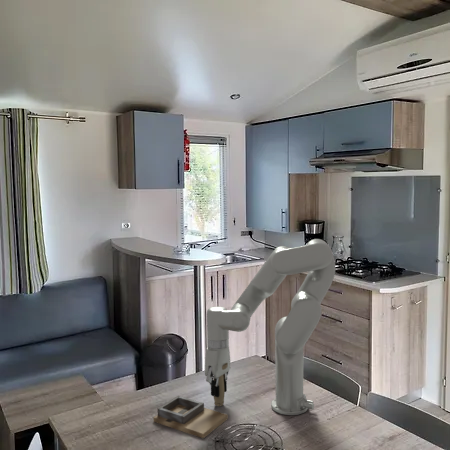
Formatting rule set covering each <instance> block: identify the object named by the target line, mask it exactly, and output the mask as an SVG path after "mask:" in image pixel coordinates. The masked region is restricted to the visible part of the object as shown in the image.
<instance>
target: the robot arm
mask: <svg viewBox="0 0 450 450" xmlns="http://www.w3.org/2000/svg"><path fill="white" fill-rule="evenodd" d="M303 273H307V275H306V276H305V278H304V280H303V282H302V283H301V285H300V286H299V288H298V290H297V291H296V294H295V295H294V296H293V297H292V300H291V302H290V303H291V305H290V307H291V309H290V310H289V312H288V314H287V315H286V316H283V317H281V318H280V319H279V320H278V321H277V322H276V324H275V326H274V340H275V341H274V345H275V348H274V351H275V352H274V353H275V362H274V363H275V366H274V367H275V372H274V373H275V398H274V399H272V401H271V403H270V406H271V409H272V410H273V411H274V412H275V413H278V414H281V415H284V416H285V415H286V416H297V415H301V414H304V413H305V412H307V411H308V410H312V411H313V410H314V409H315V404H314V401H313V400H310V399H308V398H307V394H305V393H304V348H305V345H306V343H307V342H308V341H309V339H310V338H311V336H312V334H313V333H314V330H315V329H316V327H317V326H318V324H319V322H320V319H321V318H322V317H321V316H322V306H321V303H322V302H323V300H324V298H325V297H326V295H327V293H328V291H329V289H330V288H331V285H332V284H333V282H334V278H335V273H336V261H335V257H334V254H333V250H332V248H331V247H330V246H329V244H328V243H327V242H326V241H325V240H323V239H320V238H314V239H311V240H309V241H308V242H307V243H306V245H302V246H295V247H289V246H285V245H280V246H278V247H276V248H274V250H273V251H272V252H271V254H270V255H269V257H267V259H266V260H265V262H264V263H263V265H262V266H261V267H260V269H259V270H258V272H257V273H256V274H255V275H254V277H253V278H252V280H251V281H250V282H249V284H248V285H247V287H246V288H245V289H244V291H243V292H241V295H239V296H240V297H239V298H238V299H237V300H236V301H235V302H234V304H233V306H232V307H231V308H230V310H228V309H227V308H226V307H224V306H212V307H209V308H208V309H207V310H206V342H207V343H206V350H205V357H204V359H205V360H204V375H205V377H206V379H205V381H206V382H207V383H209V385H210V395H211V396H212V397H214V396H215V397H219V386H218V380H219V377H220V376H221V375H223V376H224V389H225V390H224V391H225V393H227V392H228V391H227V389H228V388H227V381H228V375H229V371H230V370H231V352H230V342H229V341H230V340H229V338H230V337H229V334H230V333H229V332H230V331H232V332H245V331H246V330H248V329H249V326H250V323H251V317H252V316H253V315H254V313H255V311H256V310H257V309H258V308H259V306H260V305H261V304H262V303H263V301H264V300H266V299H267V298H269V297H271V296H273V294H274V293H275V292H276V291H277V290H278V288H279V286H280V285H281V284H282V282H284V280H285V279H286V277H287V276H290V275H296V274H297V275H298V274H303ZM226 363H228V367H227V368H226V369H224V370H222V366H223V365H225V364H226ZM214 379H215V381H214Z"/></svg>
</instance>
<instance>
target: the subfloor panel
mask: <svg viewBox="0 0 450 450" xmlns="http://www.w3.org/2000/svg"><path fill="white" fill-rule="evenodd" d="M152 418H153V423H157V424H158V425H162V426H164V427H169V428H171V429H174V430H177V431H179V432H183V433H185V434H189V435H192V436H195V437H198V438H201V439H204V438H206V437H207V436H209V434H211V433H212V432H214V431H215V430H216V429H217V428H218V427H220V426H221V425H222V424H224V422H226V421H227V420H228V419H229V415H228V414H227V413H224V412H220V411H217V410H214V409H210V408H207V407H205V403H204V402H202V401H197V400H194V399H191V398H188V397H185V396H184V397H183V396H180V395H176V397H174V398H173V399H170V400H169V401H167V402H165V403H164V404H162V405H161V406H159V407H157V415H155V416H153V417H152Z"/></svg>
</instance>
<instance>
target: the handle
mask: <svg viewBox="0 0 450 450" xmlns="http://www.w3.org/2000/svg"><path fill="white" fill-rule="evenodd" d="M227 367H228V363H226V364H225V365H223V366H222V370H224V369H226V368H227ZM213 380H214V381H215V379H214V378H213ZM218 386H219V397H215V396H213V400H214V406H216V407H222V406H224V403H225V393H226V392H225V391H224V390H225V389H224V376H223V375H221V376H220V377H219V380H218Z"/></svg>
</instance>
